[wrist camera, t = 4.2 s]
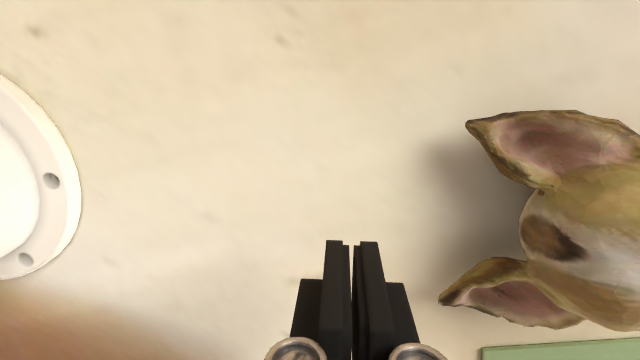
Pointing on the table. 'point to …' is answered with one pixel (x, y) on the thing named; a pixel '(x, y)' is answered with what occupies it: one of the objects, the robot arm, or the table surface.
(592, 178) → the ceramic sculpture
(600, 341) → the sage cloth
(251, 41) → the table surface
